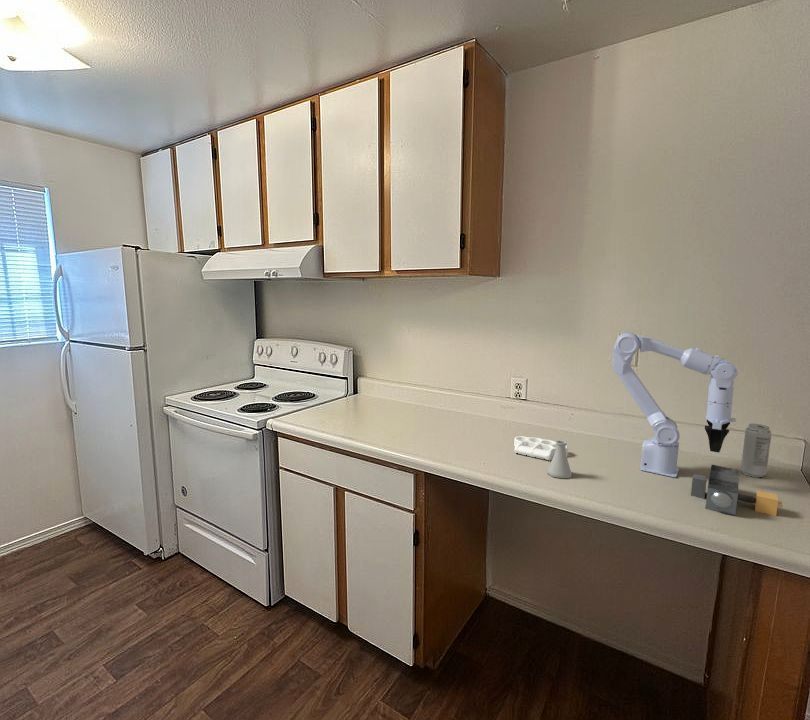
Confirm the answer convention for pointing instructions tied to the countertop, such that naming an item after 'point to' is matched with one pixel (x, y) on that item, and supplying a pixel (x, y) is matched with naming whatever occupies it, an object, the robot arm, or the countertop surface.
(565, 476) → the flask
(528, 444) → the white egg tray
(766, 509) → the bar with block ends
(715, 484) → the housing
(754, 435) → the energy drink can
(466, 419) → the countertop surface
